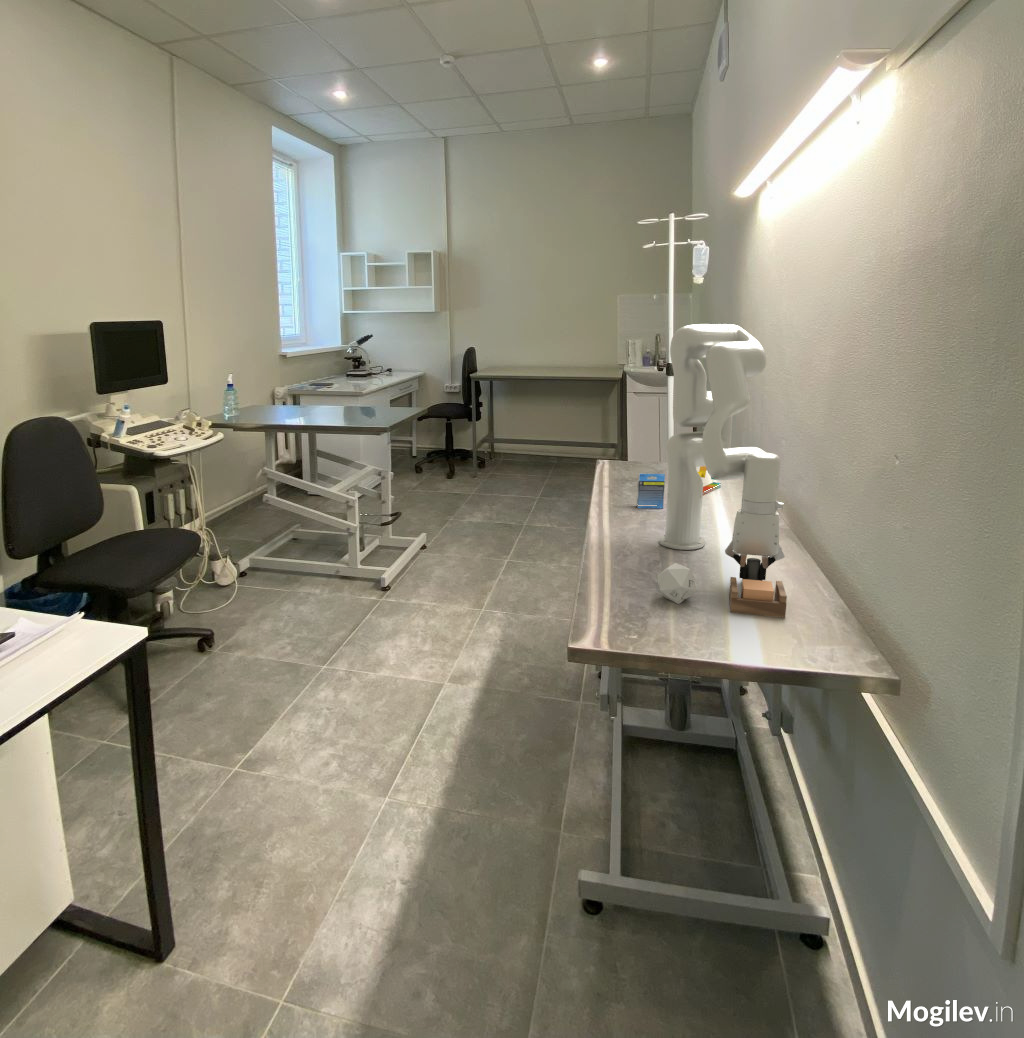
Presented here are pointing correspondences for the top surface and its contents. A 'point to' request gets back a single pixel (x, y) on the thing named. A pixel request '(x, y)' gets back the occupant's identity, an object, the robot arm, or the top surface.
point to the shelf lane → (758, 602)
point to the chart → (702, 474)
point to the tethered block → (756, 583)
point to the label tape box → (651, 491)
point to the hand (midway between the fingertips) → (751, 581)
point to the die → (676, 583)
